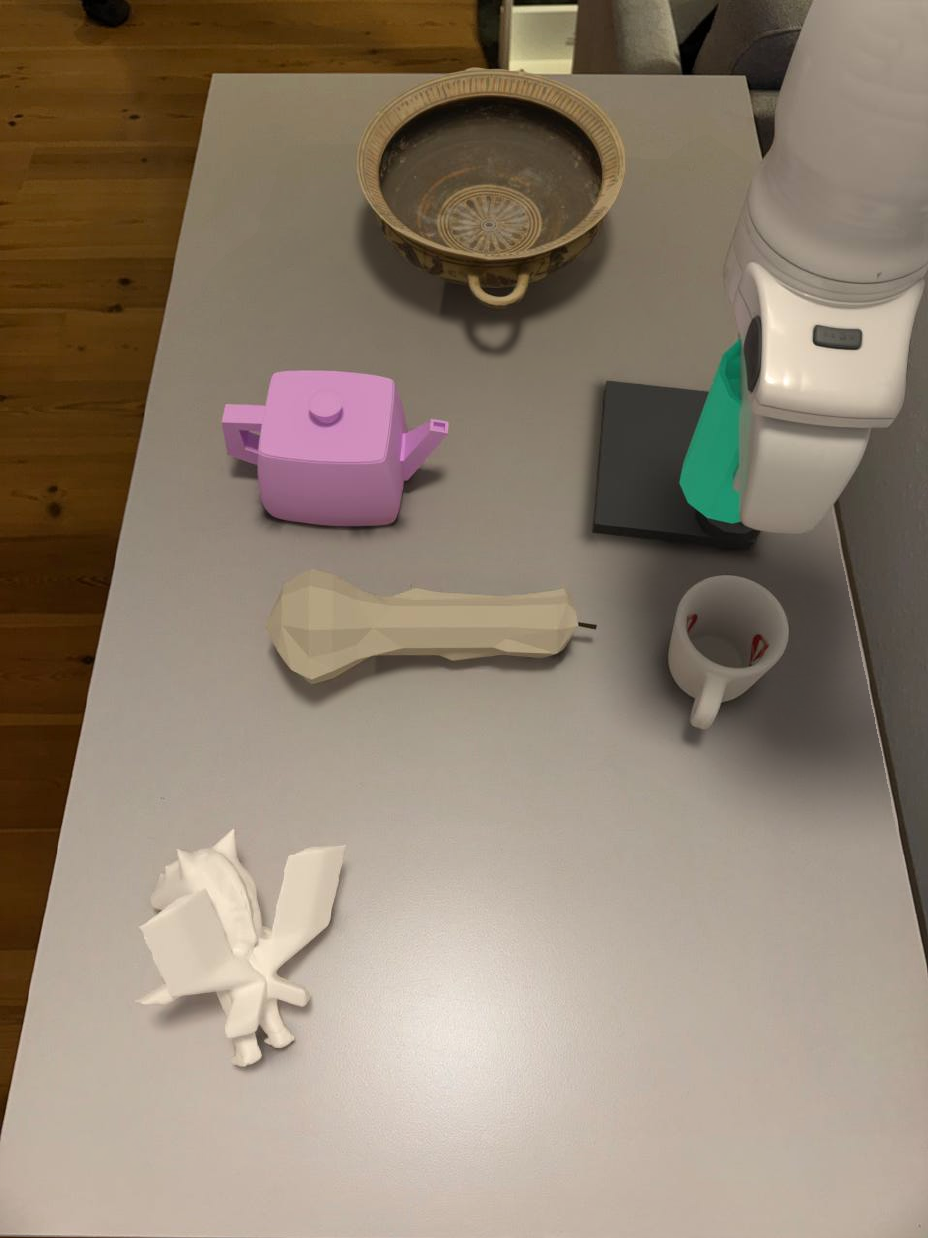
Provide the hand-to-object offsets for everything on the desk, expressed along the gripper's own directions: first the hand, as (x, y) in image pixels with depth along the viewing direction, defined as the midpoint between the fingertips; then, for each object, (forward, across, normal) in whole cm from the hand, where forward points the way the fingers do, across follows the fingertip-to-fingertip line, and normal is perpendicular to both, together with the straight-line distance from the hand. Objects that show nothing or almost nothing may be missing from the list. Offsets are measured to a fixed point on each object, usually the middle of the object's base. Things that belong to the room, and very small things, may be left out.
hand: (746, 436), depth 61 cm
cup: (+24, +6, +3) cm, 24 cm away
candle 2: (+24, +6, -18) cm, 30 cm away
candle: (+5, 0, 0) cm, 5 cm away
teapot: (+24, -10, -28) cm, 38 cm away
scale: (+23, -14, 0) cm, 27 cm away
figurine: (+24, +29, -28) cm, 47 cm away
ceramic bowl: (+24, -38, -19) cm, 49 cm away
